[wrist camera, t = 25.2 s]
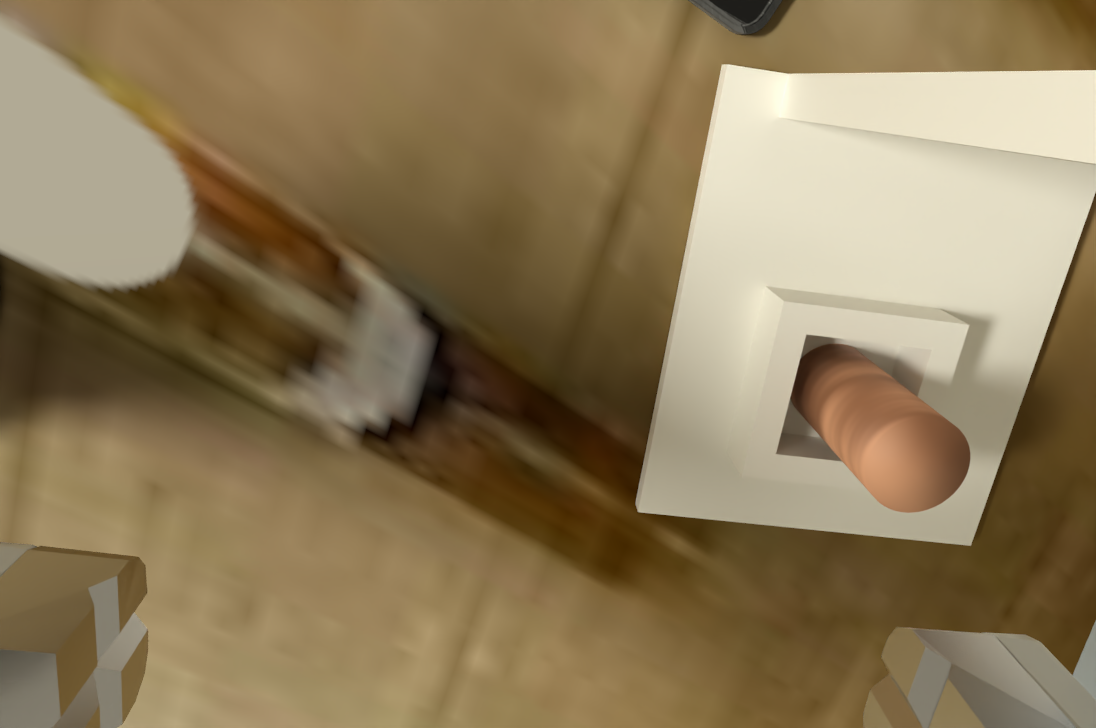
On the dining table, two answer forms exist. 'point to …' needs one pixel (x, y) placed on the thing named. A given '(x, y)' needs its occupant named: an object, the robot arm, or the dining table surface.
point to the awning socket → (866, 282)
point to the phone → (739, 13)
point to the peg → (880, 429)
